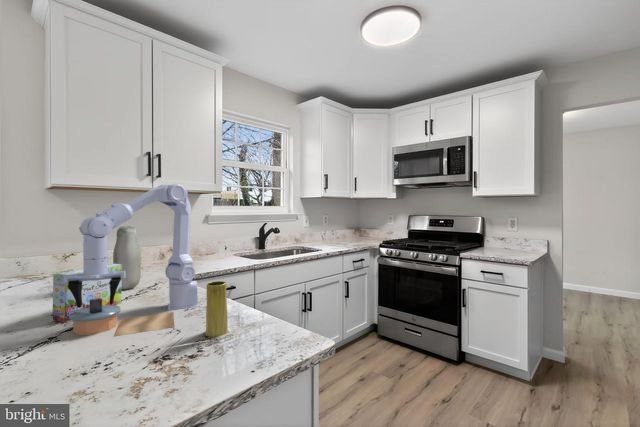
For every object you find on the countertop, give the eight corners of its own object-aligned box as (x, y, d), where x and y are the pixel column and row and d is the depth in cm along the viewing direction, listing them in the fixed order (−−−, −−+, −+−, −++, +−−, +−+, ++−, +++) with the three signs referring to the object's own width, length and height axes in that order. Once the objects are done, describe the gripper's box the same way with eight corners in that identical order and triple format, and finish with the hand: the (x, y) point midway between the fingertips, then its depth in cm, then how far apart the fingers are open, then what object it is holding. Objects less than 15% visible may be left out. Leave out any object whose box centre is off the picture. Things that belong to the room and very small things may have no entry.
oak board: (173, 313, 105) (173, 312, 105) (174, 328, 91) (174, 327, 91) (120, 320, 98) (120, 319, 98) (113, 338, 85) (113, 336, 85)
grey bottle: (125, 285, 144) (125, 225, 144) (145, 286, 143) (145, 225, 143) (108, 291, 134) (107, 226, 134) (129, 292, 133) (129, 226, 133)
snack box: (66, 323, 96) (66, 274, 96) (51, 321, 97) (51, 273, 97) (122, 303, 117) (122, 263, 117) (110, 302, 118) (109, 262, 118)
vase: (206, 339, 83) (206, 286, 83) (203, 332, 89) (203, 282, 89) (230, 335, 86) (229, 284, 86) (225, 328, 92) (225, 280, 92)
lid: (122, 305, 99) (122, 292, 99) (117, 317, 88) (117, 302, 88) (75, 311, 93) (75, 297, 93) (64, 324, 82) (64, 308, 82)
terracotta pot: (118, 321, 97) (118, 307, 97) (114, 332, 88) (113, 316, 88) (79, 326, 93) (78, 311, 93) (69, 339, 84) (69, 322, 84)
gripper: (59, 262, 84) (60, 312, 84) (123, 258, 90) (123, 305, 90) (67, 258, 90) (67, 305, 90) (126, 255, 97) (126, 299, 97)
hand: (95, 304), depth 91 cm, fingers open, 7 cm apart
